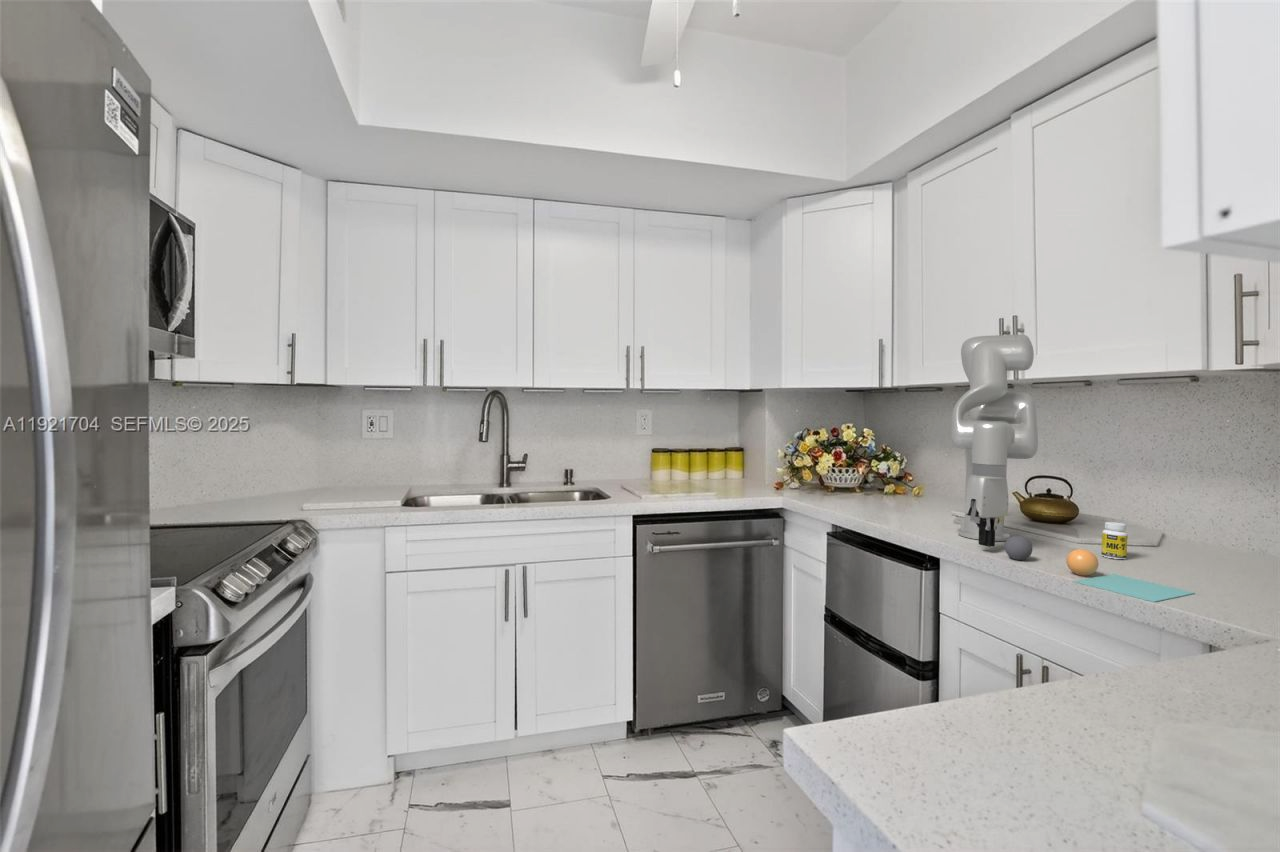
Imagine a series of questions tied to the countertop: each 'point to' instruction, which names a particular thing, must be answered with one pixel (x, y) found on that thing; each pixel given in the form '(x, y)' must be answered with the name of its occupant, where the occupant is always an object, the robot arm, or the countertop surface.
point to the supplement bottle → (1114, 540)
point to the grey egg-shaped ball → (1018, 547)
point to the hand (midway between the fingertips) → (986, 545)
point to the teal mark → (1135, 587)
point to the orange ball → (1082, 562)
